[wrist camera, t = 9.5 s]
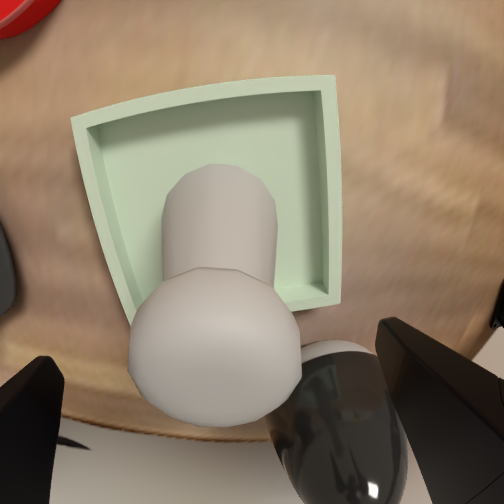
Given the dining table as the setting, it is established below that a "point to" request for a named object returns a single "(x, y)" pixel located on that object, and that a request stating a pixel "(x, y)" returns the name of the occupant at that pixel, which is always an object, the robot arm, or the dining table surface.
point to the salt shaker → (216, 306)
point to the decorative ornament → (22, 15)
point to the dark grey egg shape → (341, 429)
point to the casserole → (6, 276)
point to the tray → (219, 152)
